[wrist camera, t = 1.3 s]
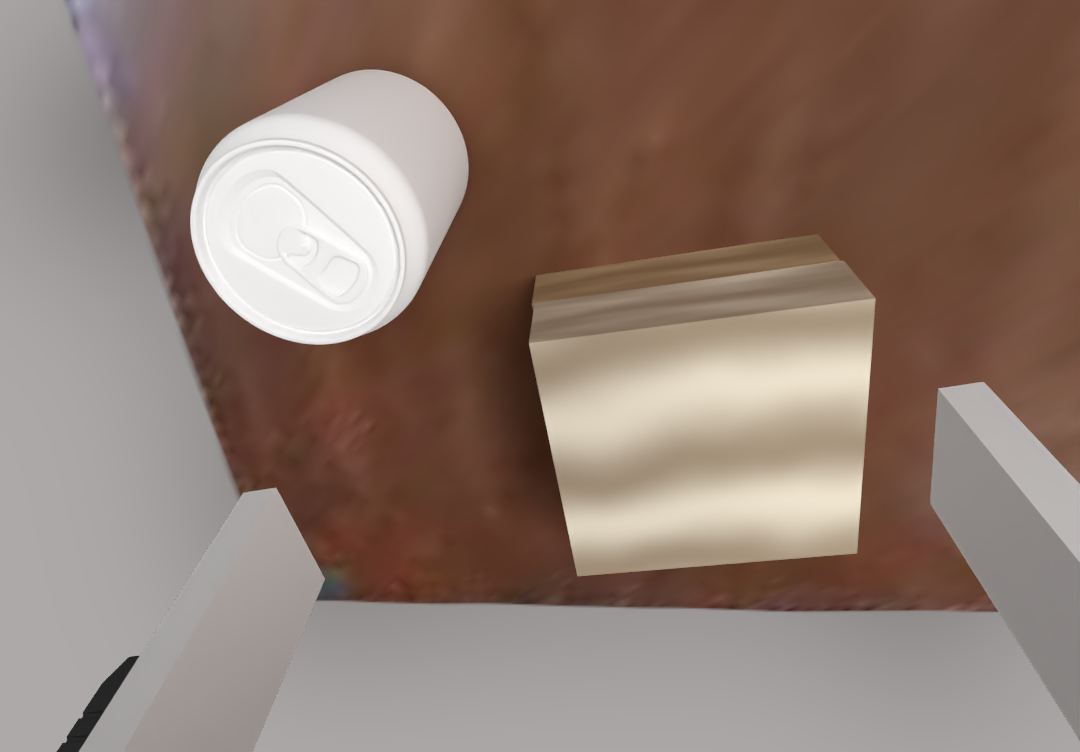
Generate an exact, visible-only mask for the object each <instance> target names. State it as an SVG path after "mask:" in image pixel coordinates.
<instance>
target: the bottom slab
mask: <svg viewBox="0 0 1080 752" xmlns="http://www.w3.org/2000/svg"><path fill="white" fill-rule="evenodd" d="M837 261H840V260H839V259H838V258H837V256H836V255H835V254H834V253H833V252H832V250H831V249H830V248H829V247H828V245H827V244H826V243H825V242H824V241H823V239H822V238H821V237H820V236H819V235H818V234H814V235H807V236H800V237H793V238H786V239H780V240H773V241H766V242H759V243H752V244H746V245H739V246H732V247H725V248H718V249H712V250H705V251H698V252H691V253H684V254H677V255H671V256H664V257H657V258H650V259H643V260H637V261H630V262H623V263H616V264H609V265H603V266H596V267H589V268H582V269H575V270H568V271H562V272H555V273H548V274H541V275H536V279H535V286H534V292H533V299H532V308H533V311H534V305H535V303H539V302H546V301H553V300H561V299H568V298H575V297H582V296H590V295H597V294H604V293H612V292H619V291H626V290H633V289H641V288H648V287H655V286H662V285H670V284H677V283H684V282H691V281H699V280H706V279H713V278H720V277H728V276H735V275H742V274H750V273H757V272H764V271H771V270H779V269H786V268H793V267H800V266H808V265H815V264H822V263H829V262H837Z"/></svg>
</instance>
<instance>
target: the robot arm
mask: <svg viewBox="0 0 1080 752" xmlns="http://www.w3.org/2000/svg"><path fill="white" fill-rule="evenodd" d="M930 504H931V505H932V507H933V509H934V510H935V512H936V513H937V515H938V517H939V518H940V520H941V521H942V523H943V525H944V526H945V528H946V529H947V531H948V532H949V534H950V536H951V537H952V539H953V540H954V542H955V544H956V545H957V547H958V548H959V550H960V552H961V553H962V555H963V556H964V558H965V559H966V561H967V563H968V564H969V566H970V567H971V569H972V571H973V572H974V574H975V575H976V577H977V579H978V580H979V582H980V583H981V585H982V586H983V588H984V590H985V591H986V593H987V594H988V596H989V598H990V599H991V601H992V602H993V604H994V605H995V607H996V609H997V610H998V612H999V613H1000V615H1001V617H1002V618H1003V620H1004V621H1005V623H1006V624H1007V626H1008V628H1009V629H1010V631H1011V632H1012V634H1013V636H1014V637H1015V639H1016V640H1017V642H1018V643H1019V645H1020V647H1021V648H1022V650H1023V652H1024V653H1025V655H1026V656H1027V658H1028V659H1029V661H1030V663H1031V664H1032V666H1033V667H1034V669H1035V670H1036V672H1037V674H1038V675H1039V677H1040V678H1041V680H1042V682H1043V683H1044V685H1045V686H1046V688H1047V690H1048V691H1049V693H1050V694H1051V696H1052V698H1053V699H1054V701H1055V702H1056V704H1057V705H1058V707H1059V709H1060V710H1061V712H1062V713H1063V715H1064V717H1065V718H1066V720H1067V721H1068V723H1069V725H1070V726H1071V728H1072V729H1073V731H1074V733H1075V734H1076V736H1077V737H1078V739H1079V740H1080V484H1079V483H1078V482H1077V481H1076V480H1075V479H1074V478H1073V477H1072V476H1071V475H1070V474H1069V473H1068V471H1067V470H1066V469H1065V468H1064V467H1063V466H1062V465H1061V464H1060V463H1059V462H1058V461H1057V460H1056V459H1055V458H1054V456H1053V455H1052V454H1051V453H1050V452H1049V451H1048V450H1047V449H1046V448H1045V447H1044V446H1043V445H1042V444H1041V443H1040V441H1039V440H1038V439H1037V438H1036V437H1035V436H1034V435H1033V434H1032V433H1031V432H1030V431H1029V430H1028V429H1027V428H1026V427H1025V425H1024V424H1023V423H1022V422H1021V421H1020V420H1019V419H1018V418H1017V417H1016V416H1015V415H1014V414H1013V413H1012V412H1011V410H1010V409H1009V408H1008V407H1007V406H1006V405H1005V404H1004V403H1003V402H1002V401H1001V400H1000V399H999V398H998V397H997V395H996V394H995V393H994V392H993V391H992V390H991V389H990V388H989V387H988V386H987V385H986V384H985V383H984V382H979V383H973V384H966V385H959V386H953V387H946V388H939V389H938V399H937V413H936V427H935V441H934V455H933V469H932V483H931V497H930ZM324 580H325V578H324V576H323V574H322V573H321V571H320V569H319V567H318V565H317V563H316V561H315V559H314V558H313V556H312V554H311V552H310V550H309V548H308V546H307V544H306V543H305V541H304V539H303V537H302V535H301V533H300V531H299V530H298V528H297V526H296V524H295V522H294V520H293V518H292V516H291V515H290V513H289V511H288V509H287V507H286V505H285V503H284V501H283V500H282V498H281V496H280V494H279V492H278V490H277V488H272V489H265V490H258V491H252V492H245V493H243V494H242V496H241V497H240V499H239V500H238V502H237V504H236V505H235V507H234V508H233V510H232V511H231V513H230V515H229V516H228V518H227V519H226V521H225V522H224V524H223V526H222V527H221V529H220V530H219V532H218V534H217V535H216V537H215V538H214V540H213V541H212V543H211V545H210V546H209V548H208V549H207V551H206V552H205V554H204V555H203V557H202V559H201V560H200V562H199V563H198V565H197V566H196V568H195V570H194V571H193V573H192V574H191V576H190V578H189V579H188V581H187V582H186V584H185V585H184V587H183V588H182V590H181V592H180V593H179V595H178V596H177V598H176V599H175V601H174V603H173V604H172V606H171V607H170V609H169V610H168V612H167V614H166V615H165V617H164V618H163V620H162V622H161V623H160V625H159V626H158V628H157V629H156V631H155V632H154V634H153V636H152V637H151V639H150V640H149V642H148V643H147V645H146V647H145V648H144V650H143V651H142V653H141V655H140V656H133V657H129V658H128V659H126V661H125V662H123V663H122V665H120V666H119V668H117V669H116V670H115V671H114V672H113V673H112V674H111V675H110V676H109V677H108V678H107V679H106V680H105V681H104V682H103V683H102V684H101V686H100V688H99V689H98V691H97V692H96V694H95V695H94V697H93V698H92V700H91V701H90V703H89V704H88V706H87V707H86V709H85V710H84V712H83V718H81V719H78V721H77V722H76V724H75V725H74V727H73V728H72V730H71V731H70V733H69V734H68V736H67V742H66V743H62V745H61V746H60V748H59V749H58V751H57V752H253V750H254V748H255V745H256V743H257V741H258V738H259V736H260V733H261V731H262V728H263V726H264V724H265V721H266V719H267V717H268V714H269V712H270V709H271V707H272V705H273V702H274V700H275V698H276V695H277V693H278V690H279V688H280V686H281V683H282V681H283V678H284V676H285V674H286V671H287V669H288V666H289V664H290V661H291V659H292V657H293V654H294V652H295V650H296V647H297V645H298V642H299V640H300V637H301V635H302V633H303V630H304V628H305V626H306V623H307V621H308V618H309V616H310V614H311V611H312V609H313V606H314V604H315V602H316V599H317V597H318V594H319V592H320V590H321V587H322V585H323V582H324Z"/></svg>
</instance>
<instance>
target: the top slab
mask: <svg viewBox="0 0 1080 752" xmlns="http://www.w3.org/2000/svg"><path fill="white" fill-rule="evenodd" d="M874 312H875V297H874V296H873V295H872V294H871V292H870V291H869V290H868V289H867V288H866V286H865V285H864V284H863V283H862V282H861V281H860V279H859V278H858V277H857V276H856V275H855V273H854V272H853V271H852V270H851V269H850V267H849V266H848V265H847V264H846V263H845V262H844V261H837V262H829V263H822V264H815V265H808V266H800V267H793V268H786V269H779V270H771V271H764V272H757V273H750V274H742V275H735V276H728V277H720V278H713V279H706V280H699V281H691V282H684V283H677V284H670V285H662V286H655V287H648V288H641V289H633V290H626V291H619V292H612V293H604V294H597V295H590V296H582V297H575V298H568V299H561V300H553V301H546V302H539V303H535V305H534V311H533V318H532V325H531V332H530V338H529V347H530V351H531V356H532V361H533V366H534V371H535V375H536V380H537V385H538V390H539V395H540V399H541V404H542V409H543V414H544V418H545V423H546V428H547V433H548V438H549V442H550V447H551V452H552V457H553V461H554V466H555V471H556V476H557V481H558V485H559V490H560V495H561V500H562V504H563V509H564V514H565V519H566V524H567V528H568V533H569V538H570V543H571V548H572V552H573V557H574V562H575V567H576V571H577V576H586V575H599V574H611V573H623V572H635V571H647V570H660V569H672V568H684V567H696V566H708V565H720V564H733V563H745V562H757V561H769V560H781V559H793V558H806V557H818V556H830V555H842V554H854V553H857V545H858V531H859V517H860V504H861V490H862V476H863V463H864V449H865V435H866V422H867V408H868V394H869V380H870V367H871V353H872V339H873V326H874Z"/></svg>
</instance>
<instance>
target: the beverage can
mask: <svg viewBox="0 0 1080 752" xmlns="http://www.w3.org/2000/svg"><path fill="white" fill-rule="evenodd" d="M468 172H469V166H468V155H467V150H466V145H465V142H464V139H463V136H462V133H461V131H460V129H459V127H458V125H457V123H456V121H455V119H454V118H453V116H452V115H451V113H450V112H449V110H448V109H447V108H446V106H445V105H444V104H443V103H442V102H441V101H440V100H439V99H438V98H437V97H436V96H435V95H434V94H433V93H432V92H430V91H429V90H428V89H427V88H425V87H424V86H422V85H421V84H419V83H417V82H416V81H414V80H412V79H410V78H408V77H405V76H403V75H400V74H397V73H393V72H389V71H384V70H359V71H354V72H350V73H347V74H344V75H341V76H339V77H337V78H335V79H333V80H331V81H329V82H327V83H325V84H323V85H321V86H319V87H317V88H315V89H313V90H311V91H309V92H307V93H305V94H303V95H301V96H299V97H297V98H295V99H293V100H291V101H289V102H287V103H285V104H283V105H281V106H279V107H277V108H275V109H273V110H271V111H269V112H267V113H265V114H263V115H261V116H259V117H257V118H255V119H253V120H251V121H249V122H247V123H245V124H243V125H241V126H240V127H238V128H236V129H235V130H233V131H232V132H230V133H229V134H228V135H227V136H226V137H224V138H223V139H222V140H221V141H220V142H219V144H218V145H217V146H216V147H215V148H214V150H213V151H212V152H211V154H210V155H209V157H208V158H207V160H206V162H205V164H204V166H203V168H202V170H201V173H200V176H199V179H198V182H197V187H196V192H195V195H194V198H193V202H192V207H191V216H190V228H191V237H192V242H193V247H194V250H195V254H196V256H197V259H198V262H199V264H200V266H201V268H202V270H203V272H204V274H205V276H206V278H207V279H208V281H209V283H210V284H211V286H212V287H213V288H214V290H215V291H216V292H217V294H218V295H219V296H220V297H221V298H222V299H223V301H224V302H225V303H226V304H227V305H228V306H229V307H230V308H231V309H233V310H234V311H235V312H236V313H237V314H238V315H240V316H241V317H242V318H244V319H245V320H246V321H248V322H249V323H251V324H252V325H254V326H256V327H257V328H259V329H261V330H263V331H265V332H267V333H269V334H272V335H274V336H277V337H279V338H282V339H286V340H289V341H293V342H298V343H304V344H333V343H339V342H344V341H347V340H350V339H353V338H356V337H358V336H361V335H364V334H367V333H370V332H372V331H374V330H377V329H379V328H381V327H382V326H384V325H386V324H387V323H389V322H390V321H392V320H393V319H394V318H395V317H397V316H398V315H399V314H400V313H401V312H402V311H403V310H404V309H405V308H406V307H407V306H408V305H409V303H410V302H411V301H412V299H413V298H414V296H415V294H416V293H417V291H418V289H419V287H420V285H421V283H422V281H423V279H424V277H425V275H426V273H427V271H428V269H429V267H430V265H431V263H432V261H433V259H434V257H435V255H436V253H437V251H438V249H439V247H440V245H441V243H442V241H443V239H444V237H445V235H446V233H447V231H448V229H449V227H450V225H451V223H452V221H453V219H454V217H455V215H456V213H457V211H458V209H459V207H460V205H461V203H462V200H463V198H464V195H465V191H466V187H467V182H468Z"/></svg>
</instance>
